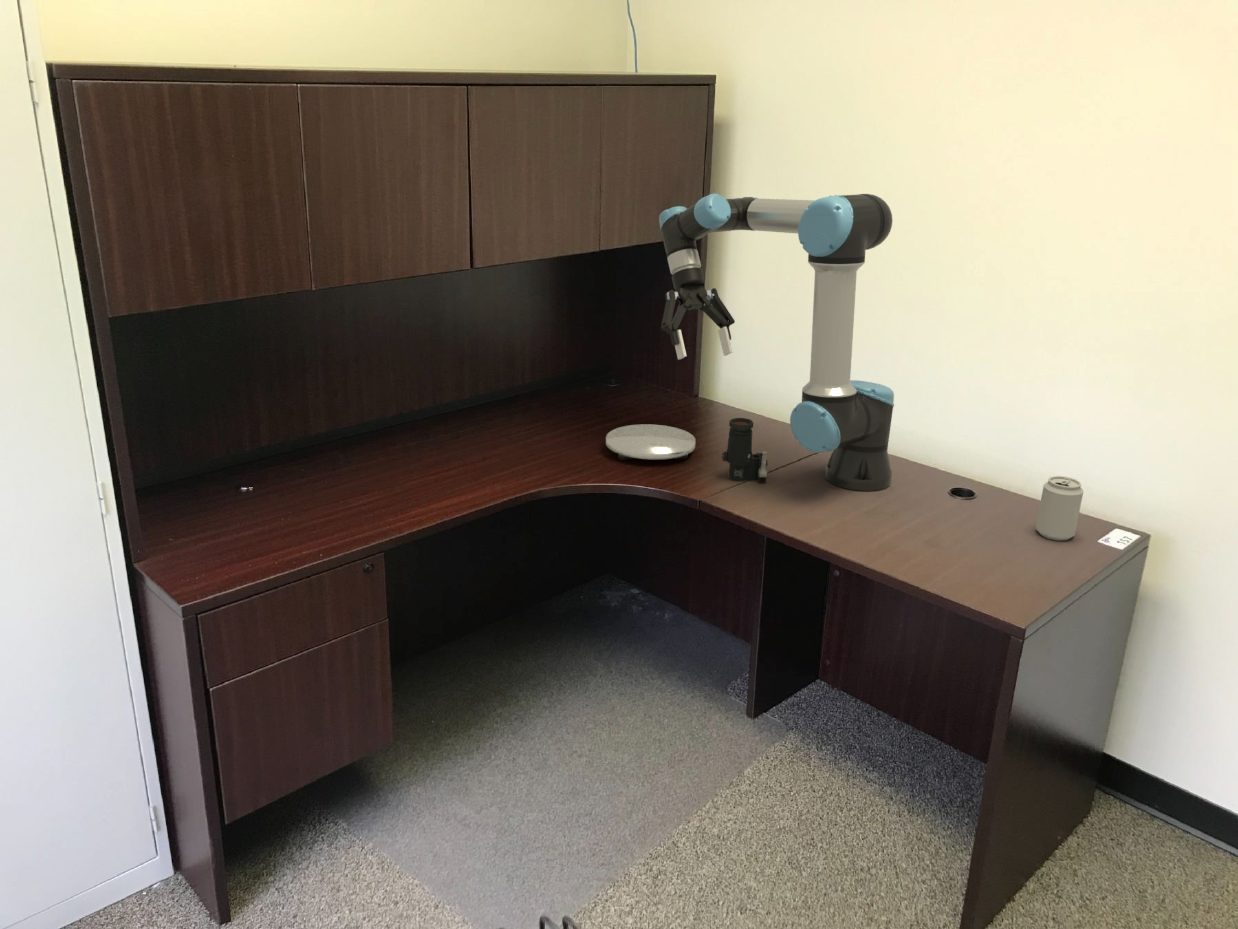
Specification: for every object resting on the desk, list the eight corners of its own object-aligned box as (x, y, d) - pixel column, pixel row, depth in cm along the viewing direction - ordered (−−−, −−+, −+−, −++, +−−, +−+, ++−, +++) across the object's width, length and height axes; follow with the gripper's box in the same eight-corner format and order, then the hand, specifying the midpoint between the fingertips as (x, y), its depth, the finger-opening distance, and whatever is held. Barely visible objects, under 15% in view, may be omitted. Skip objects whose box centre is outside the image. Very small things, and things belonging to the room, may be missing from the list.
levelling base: (713, 455, 248) (714, 442, 247) (644, 473, 235) (644, 459, 234) (655, 431, 264) (655, 419, 263) (587, 447, 251) (588, 434, 250)
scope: (771, 427, 226) (727, 427, 226) (766, 484, 231) (723, 484, 230) (764, 416, 234) (721, 415, 233) (760, 472, 239) (718, 472, 238)
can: (1028, 533, 209) (1038, 479, 205) (1044, 524, 214) (1054, 471, 210) (1064, 545, 204) (1075, 490, 200) (1080, 535, 209) (1091, 481, 205)
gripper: (718, 275, 254) (737, 357, 251) (635, 278, 241) (654, 364, 238) (736, 264, 247) (755, 347, 245) (651, 266, 234) (670, 354, 232)
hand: (705, 356), depth 242 cm, fingers open, 13 cm apart
